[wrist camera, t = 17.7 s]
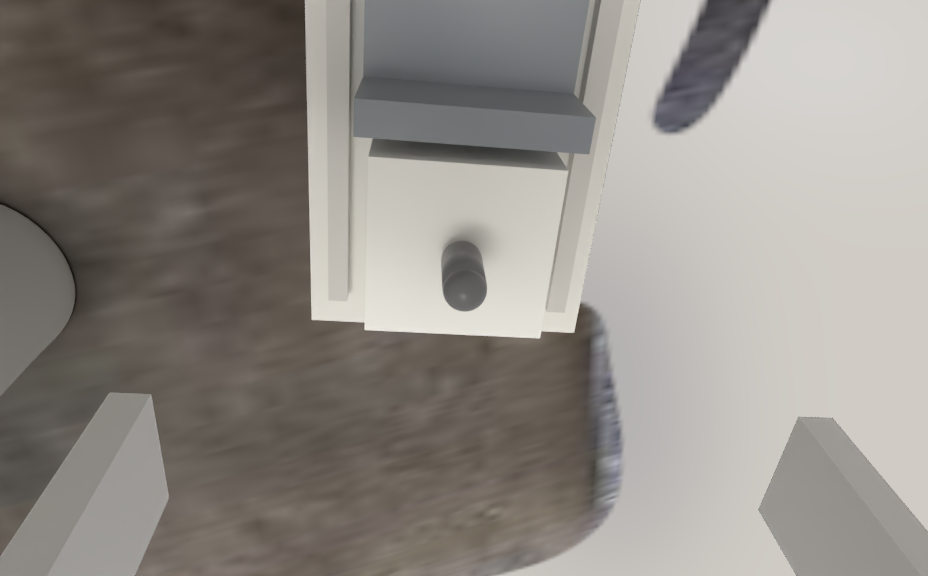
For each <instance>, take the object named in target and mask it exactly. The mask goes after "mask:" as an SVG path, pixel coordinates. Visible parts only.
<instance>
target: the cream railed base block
mask: <svg viewBox="0 0 928 576" xmlns="http://www.w3.org/2000/svg"><path fill="white" fill-rule="evenodd" d="M640 1H641V0H590V1H589V7H588V13H587V19H586V25H585V31H584V37H583V43H582V49H581V55H580V61H579V67H578V73H577V79H576V85H575V91H574V95H575V96H576V97H577V98H578V99H579V100H580V101H581V102H582V103H583V104H584V105H585V106H586V107H587V108H588V109H589V111H590V112H591V113H592V114H593V115H594V116H595V117H596V121H595V127H594V132H593V137H592V143H591V148H590V154H576V153H562V152H557V153H558V155H559V156H560V158H561V159H562V161H563V163H564V164H565V166H566V168H567V169H568V177H567V183H566V188H565V194H564V200H563V206H562V212H561V218H560V224H559V229H558V235H557V241H556V247H555V253H554V259H553V264H552V270H551V276H550V282H549V288H548V294H547V300H546V305H545V311H544V317H543V323H542V329H541V331H547V332H567V333H574V331H575V326H576V321H577V316H578V311H579V306H580V301H581V295H582V291H583V286H584V281H585V276H586V270H587V266H588V261H589V256H590V250H591V246H592V241H593V236H594V230H595V226H596V221H597V216H598V211H599V206H600V201H601V196H602V190H603V186H604V181H605V176H606V170H607V166H608V161H609V156H610V151H611V146H612V141H613V136H614V131H615V126H616V121H617V116H618V111H619V106H620V101H621V96H622V90H623V86H624V81H625V76H626V71H627V66H628V61H629V56H630V51H631V46H632V41H633V36H634V31H635V26H636V21H637V16H638V11H639V6H640ZM364 4H365V0H305V31H306V77H307V123H308V170H309V216H310V263H311V309H312V320H326V321H346V322H365V283H366V236H367V190H368V155H369V152H370V148H371V144H372V140H373V138H362V137H353V121H354V96H355V94H356V92H357V90H358V87H359V85H360V83H361V80H362V78H363V60H364Z"/></svg>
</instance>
